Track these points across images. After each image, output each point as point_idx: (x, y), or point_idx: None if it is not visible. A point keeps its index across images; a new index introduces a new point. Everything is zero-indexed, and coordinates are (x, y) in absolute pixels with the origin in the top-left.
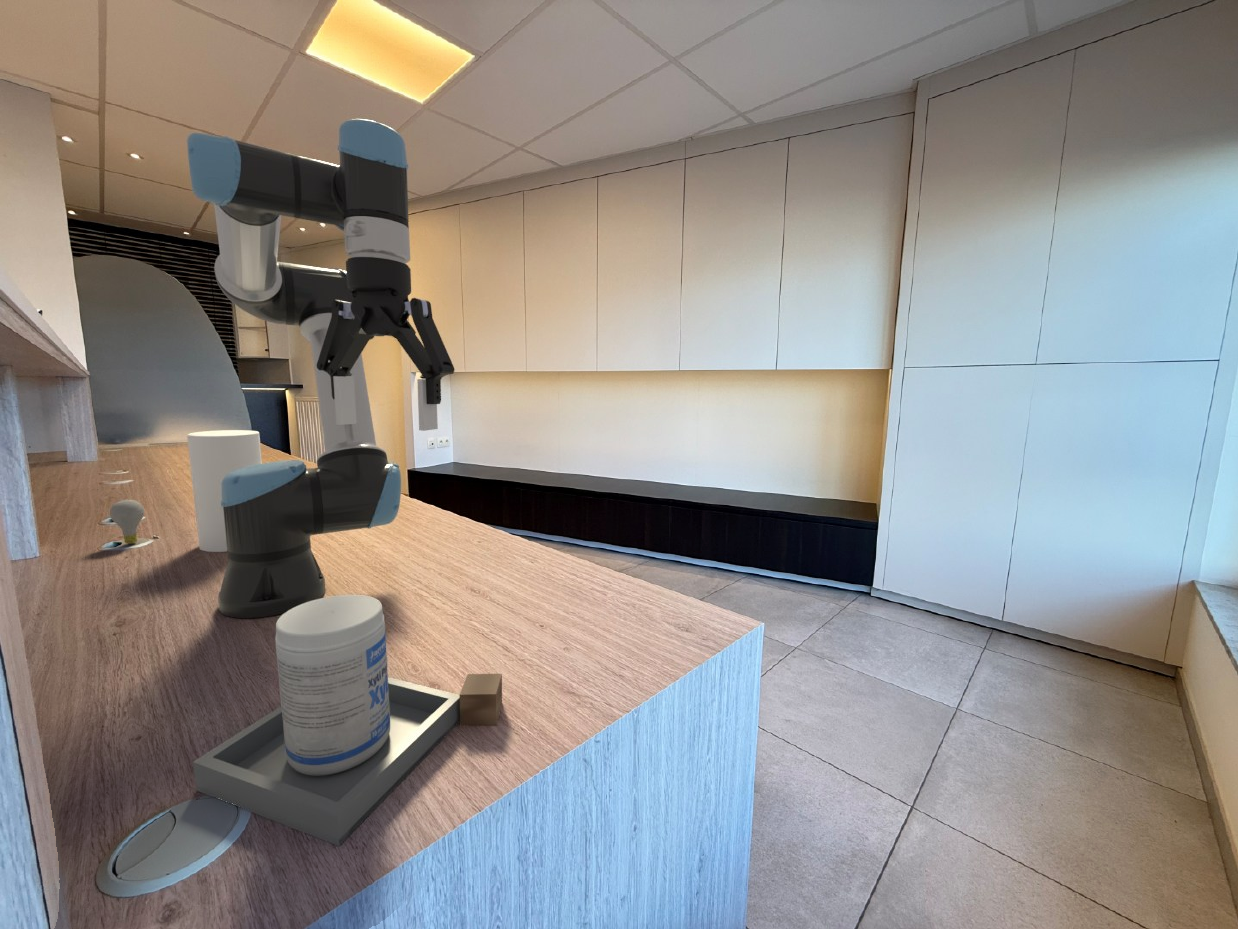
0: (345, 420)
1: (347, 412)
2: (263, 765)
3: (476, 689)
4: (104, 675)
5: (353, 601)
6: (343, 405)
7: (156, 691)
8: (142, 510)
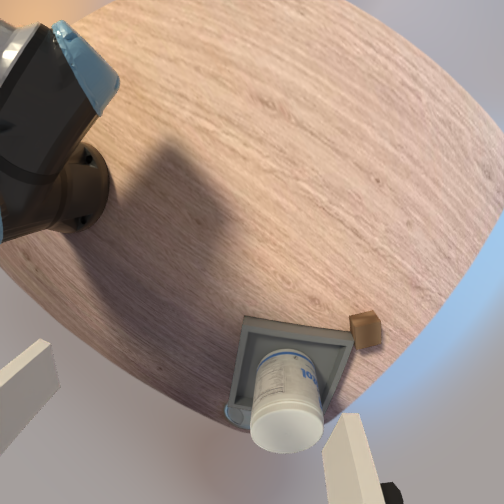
0: (51, 380)
1: (37, 385)
2: (252, 386)
3: (366, 342)
4: (79, 317)
5: (292, 420)
6: (29, 406)
7: (122, 331)
8: None
